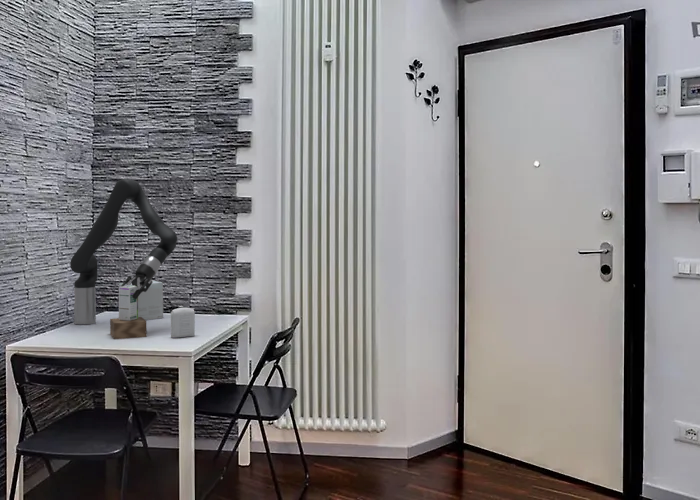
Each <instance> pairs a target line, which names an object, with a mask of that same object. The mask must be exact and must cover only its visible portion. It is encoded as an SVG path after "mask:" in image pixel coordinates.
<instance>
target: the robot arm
mask: <svg viewBox="0 0 700 500" xmlns="http://www.w3.org/2000/svg"><path fill="white" fill-rule="evenodd" d="M127 200H130V201H131V202H133V203H134V204H135V206H136V207H137V208H138V209H139V212H140V215H141V218H142V221H143V222H144V224H145V226H146V227H147V228H148V229H149V231H150V232H151V233H152V234H153V235H156V236H158V238H159V239H160V242H159V243H158V245H157V246H156V247H154V248H153V249H152V250H151V251H150V253H149V254H148V255H147V256H146V258H144V259H143V261H142V262H141V263H140V264H139V266H138V267H137V268H136V270H135V272H134V273H135V275H134V276H133V277H132V276H131V275H129V276H128V277H127V278H126V279H125V280H124V281H123V282H122V283H123V284H122V285H121V286H127V285H131V283H132V285H135V286H138V290H136V291H135V293H134V294H133V295H132V297H133V298H134V299H137V298H138V296H139V295H140V294H141V293H142V292H146V291H147V290H148V288H149V287H150V285H151V284H152V281H153V278H154V276H155V275H156V273H158V272H159V270H160V268H161V266H162V265H163V263H164V262H165V261H166V259H167V258H168V257H169V256H170V255H171V254H172V253H173V251H174V250H175V248H176V246H177V242H178V236H177V233H176V232H175V230H173V229H172V228H171V227H170V226H168V225H167V224H166V223H165V222H164V220H163V219H162V218H161V216H159V214H158V213H157V211H156V210H155V209H154V208H153V206H152V203H151V202H150V201H149V199H148V197H147V195H146V194H145V191H144V189H143V187H142V186H141V185H140V183H139V182H138V181H136V180H134V179H130V178H121V179H119V180H117V182H116V183H115V184H114V186H113V188H112V190H111V192H110V195H109V197H108V198H107V201H106V203H105V205H104V206H103V208H102V210H101V212H100V214H98V217H97V218H96V219H95V221H94V223H93V224H92V227H91V228H90V230H89V232H88V234H87V235H86V237H85V239H84V240H83V242H82V243H81V245H80V246H79V247H78V248H77V250H76V252H74V254H73V255H72V257H71V260H70V263H69V264H70V269H71V271H72V272H74V273H76V274H79V276H78V278H77V279H76V280H75V281H74V283H73V285H74V287H73V288H74V304H73V320H74V321H73V322H74V323H73V324H74V325H93V324H96V323H97V315H96V314H97V311H96V307H97V306H96V305H97V304H96V303H97V302H96V298H97V297H96V283H97V280H98V260H97V257H96V256H95V255H94V254H95V252H96V251H97V250H98V249H100V247H102V245H104V244H105V243H106V242H107V241H108V240H110V238H111V237H112V236H113V234H114V232H115V230H116V229H117V226H118V223H119V216H120V215H119V214H120V211H121V208H122V207H123V205H124V203H125V202H126V201H127ZM125 284H126V285H125ZM145 286H146V288H144V287H145Z"/></svg>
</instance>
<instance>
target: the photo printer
mask: <svg viewBox="0 0 700 500" xmlns="http://www.w3.org/2000/svg"><path fill="white" fill-rule="evenodd" d="M195 314H196V313H195V310H194V308H192V307H191V308H190V307H178V308H174V309H172V310H171V312H170V338H172V339H175V338H177V339H178V338H187V337H188V338H189V337H195V331H196V330H195V326H196V325H195V323H196V321H195V320H196V319H195V317H196V315H195Z"/></svg>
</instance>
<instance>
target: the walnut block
mask: <svg viewBox="0 0 700 500" xmlns="http://www.w3.org/2000/svg"><path fill="white" fill-rule="evenodd" d="M109 322H110V325H109V331H110V335H111V337H112V338H113V340H120V339H121V340H122V339H123V340H125V339H135V338H147V335H148V334H147V333H148V331H147V320H144V319H143V318H142V317H138V319H135V320H131V321H125V320H119V317H118V318H110V319H109Z"/></svg>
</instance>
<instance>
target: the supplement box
mask: <svg viewBox="0 0 700 500" xmlns="http://www.w3.org/2000/svg"><path fill="white" fill-rule="evenodd" d="M123 283H124V282H120V283H118V288H119V287H120V286H121V285H122V284H123ZM163 283H164V282H161V281H157V280H156V281H155V280H152V284H151V285H150V287H149V288H148V290H147V291H146V292H142V293H141V294H140V295H139V296H138V317H142V318H143V319H144V320H146V321H149V320H156V319H157V320H158V319H164V285H163ZM125 285H126V284H125ZM131 285H132V283H131ZM144 288H146V286H145V287H144Z"/></svg>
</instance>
